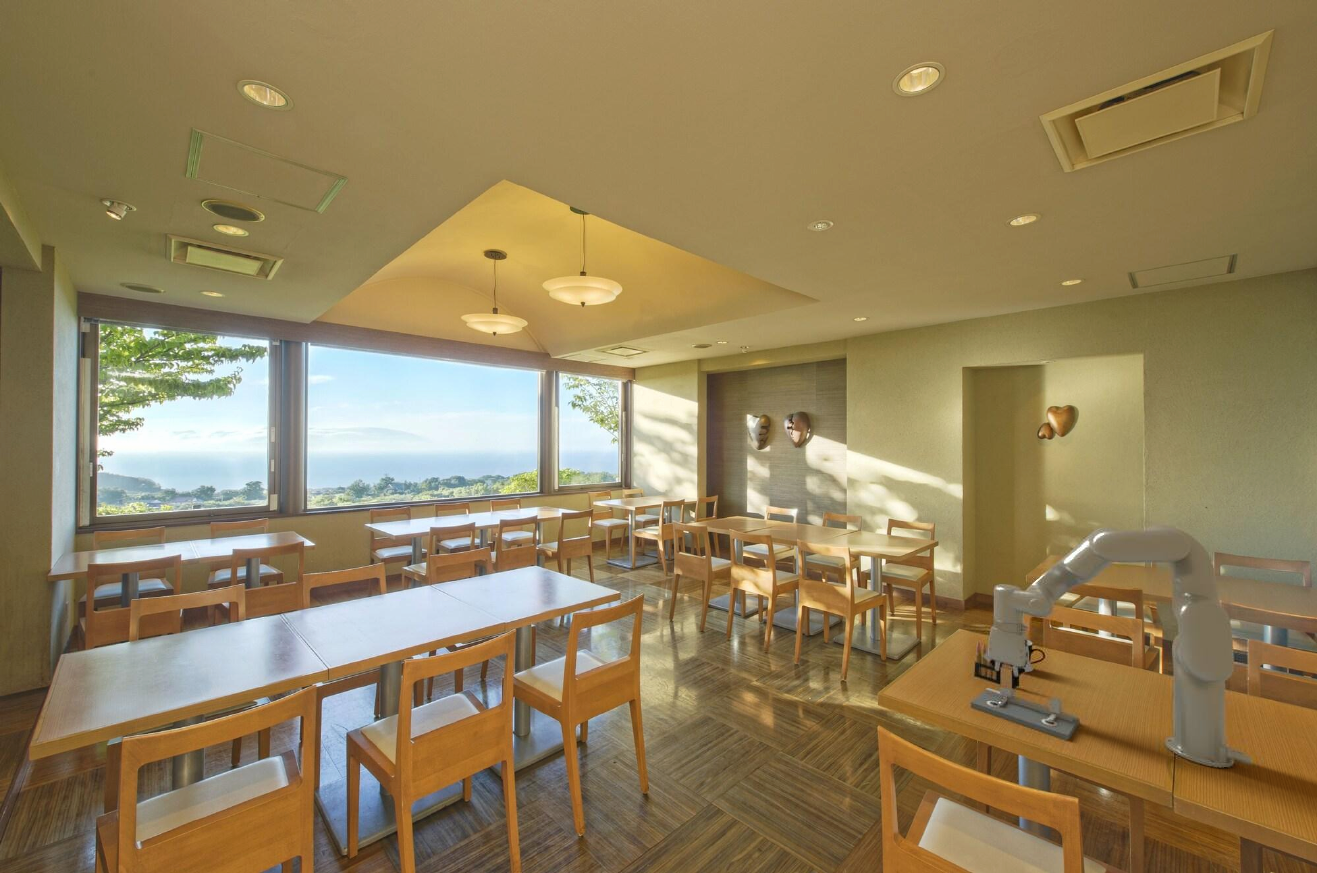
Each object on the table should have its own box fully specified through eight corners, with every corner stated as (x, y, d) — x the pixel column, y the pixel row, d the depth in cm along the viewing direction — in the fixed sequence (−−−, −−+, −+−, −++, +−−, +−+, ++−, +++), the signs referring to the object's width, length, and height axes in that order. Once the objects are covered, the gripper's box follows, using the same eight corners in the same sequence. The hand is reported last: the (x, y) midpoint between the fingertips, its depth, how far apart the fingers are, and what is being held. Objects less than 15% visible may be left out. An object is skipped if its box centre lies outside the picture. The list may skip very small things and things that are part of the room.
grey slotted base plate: (1079, 723, 155) (1079, 702, 155) (1067, 740, 145) (1067, 718, 145) (986, 693, 173) (986, 674, 173) (970, 707, 163) (971, 687, 163)
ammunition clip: (1011, 685, 179) (1011, 649, 179) (1009, 687, 177) (1009, 651, 177) (976, 674, 187) (976, 640, 187) (974, 676, 186) (974, 641, 186)
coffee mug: (998, 665, 195) (998, 637, 195) (1015, 662, 198) (1015, 635, 198) (1028, 678, 184) (1028, 649, 184) (1046, 675, 187) (1047, 647, 187)
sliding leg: (1014, 699, 165) (1015, 667, 165) (1005, 708, 159) (1005, 675, 160) (1003, 695, 168) (1004, 664, 168) (994, 704, 162) (994, 671, 162)
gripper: (1042, 630, 162) (1042, 691, 162) (982, 616, 174) (982, 673, 174) (1035, 636, 157) (1035, 698, 157) (974, 621, 169) (974, 679, 169)
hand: (1007, 684), depth 165 cm, fingers closed on sliding leg, 3 cm apart
